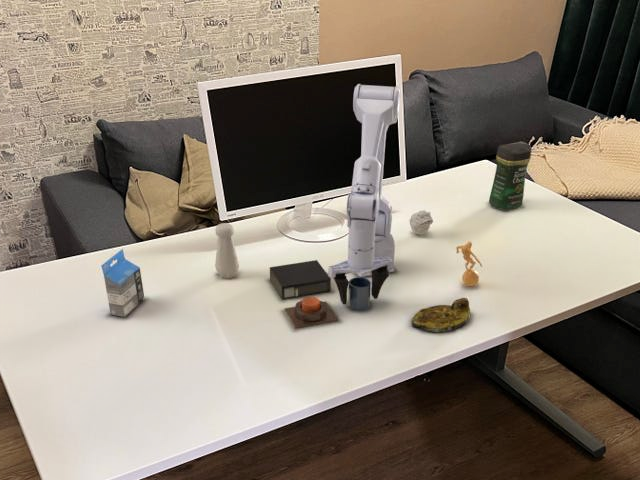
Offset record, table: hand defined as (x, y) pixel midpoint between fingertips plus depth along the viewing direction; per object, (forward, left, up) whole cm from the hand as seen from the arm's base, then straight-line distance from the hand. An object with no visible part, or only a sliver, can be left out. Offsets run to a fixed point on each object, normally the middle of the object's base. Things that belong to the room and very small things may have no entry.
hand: (359, 299), depth 167 cm
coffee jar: (-63, -40, -2) cm, 75 cm away
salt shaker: (+25, -24, -2) cm, 35 cm away
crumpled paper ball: (-30, -30, -2) cm, 42 cm away
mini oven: (+10, -13, -2) cm, 16 cm away
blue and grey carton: (+50, -16, -2) cm, 53 cm away
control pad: (+12, +1, -2) cm, 12 cm away
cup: (0, 0, -2) cm, 2 cm away
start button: (+12, +1, +1) cm, 12 cm away
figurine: (-28, 0, -2) cm, 28 cm away
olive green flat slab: (-15, +12, -2) cm, 19 cm away
